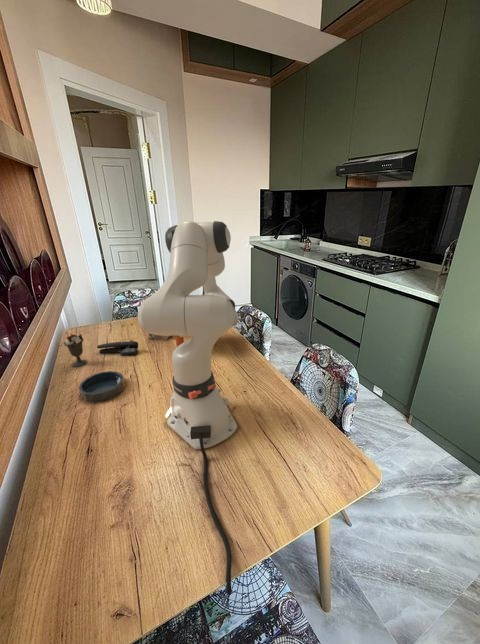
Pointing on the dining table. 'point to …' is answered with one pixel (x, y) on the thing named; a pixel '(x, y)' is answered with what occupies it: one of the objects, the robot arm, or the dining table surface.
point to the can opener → (120, 347)
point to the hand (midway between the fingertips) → (176, 333)
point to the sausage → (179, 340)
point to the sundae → (75, 348)
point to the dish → (102, 386)
